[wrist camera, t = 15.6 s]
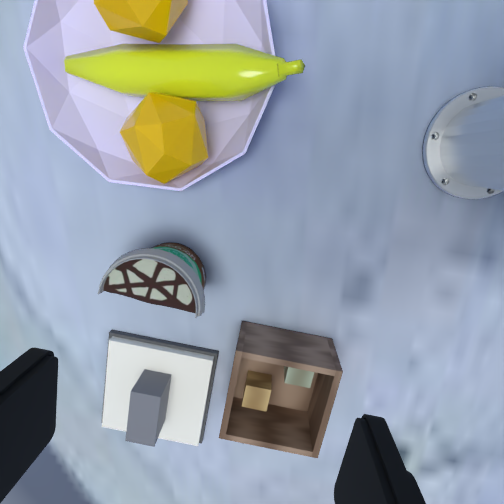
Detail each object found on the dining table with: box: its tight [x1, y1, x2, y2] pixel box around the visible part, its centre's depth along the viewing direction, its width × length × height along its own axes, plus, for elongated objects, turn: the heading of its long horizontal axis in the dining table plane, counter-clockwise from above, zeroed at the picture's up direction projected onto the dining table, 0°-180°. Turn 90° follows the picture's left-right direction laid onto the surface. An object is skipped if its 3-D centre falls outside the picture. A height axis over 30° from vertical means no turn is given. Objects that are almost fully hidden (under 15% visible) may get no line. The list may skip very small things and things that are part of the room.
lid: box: [102, 336, 214, 447], centre depth 49 cm, size 15×15×6 cm
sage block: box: [284, 366, 314, 388], centre depth 48 cm, size 4×4×4 cm
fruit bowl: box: [23, 0, 305, 191], centre depth 37 cm, size 28×27×11 cm
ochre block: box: [242, 370, 272, 411], centre depth 50 cm, size 4×4×4 cm
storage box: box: [219, 321, 343, 458], centre depth 47 cm, size 13×13×8 cm
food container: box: [98, 243, 206, 318], centre depth 43 cm, size 12×6×10 cm, turn 76°
